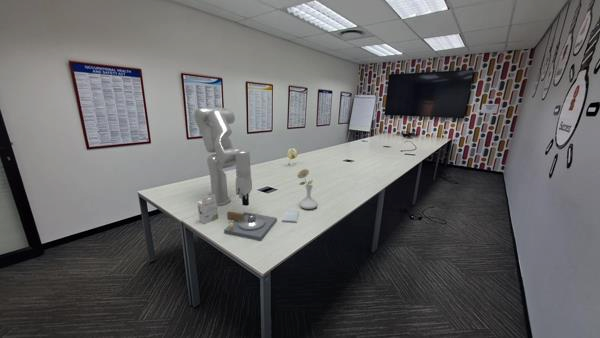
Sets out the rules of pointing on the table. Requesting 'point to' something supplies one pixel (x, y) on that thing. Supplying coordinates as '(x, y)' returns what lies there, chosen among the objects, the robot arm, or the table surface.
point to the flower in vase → (308, 201)
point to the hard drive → (290, 216)
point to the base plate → (251, 234)
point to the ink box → (207, 209)
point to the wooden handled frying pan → (247, 220)
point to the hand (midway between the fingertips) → (245, 204)
